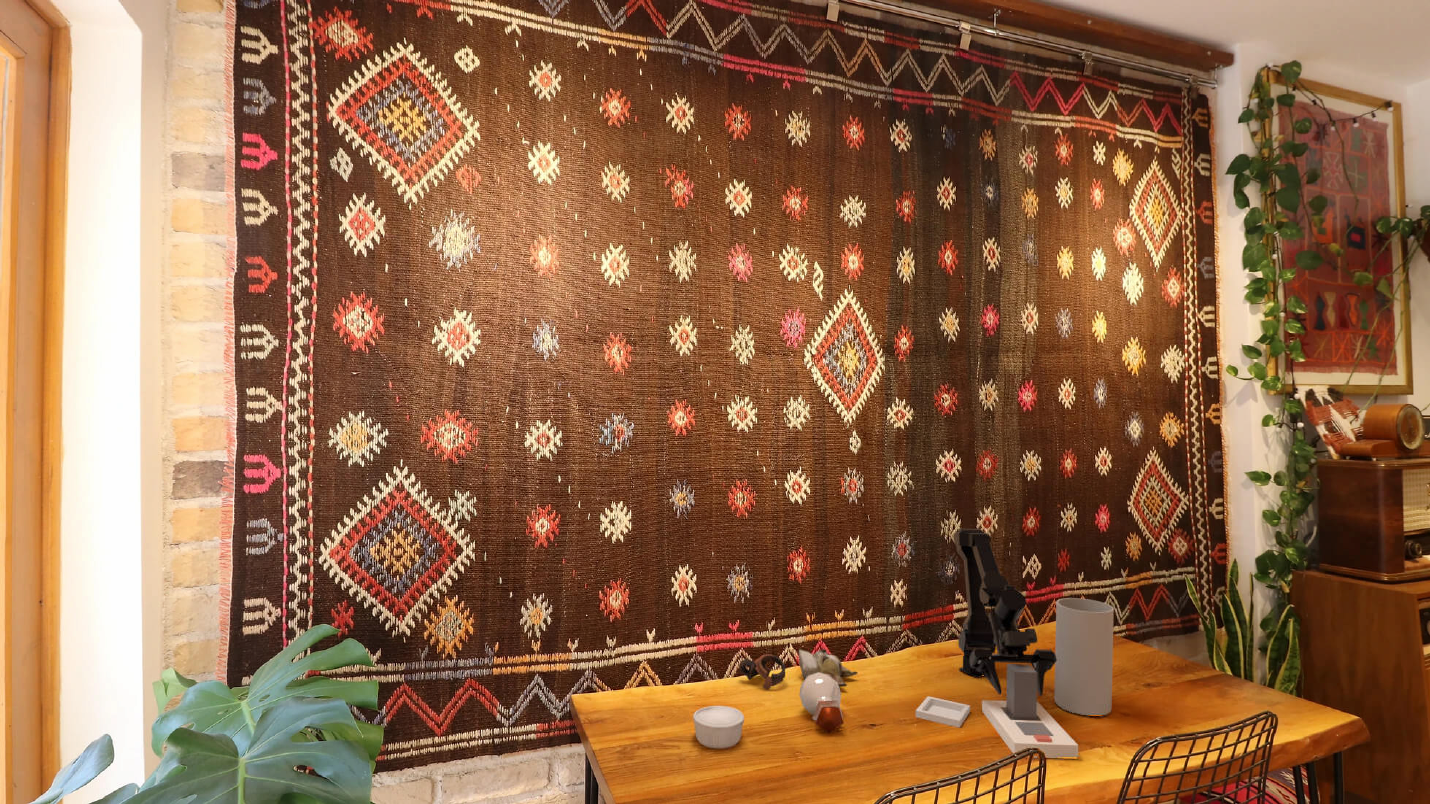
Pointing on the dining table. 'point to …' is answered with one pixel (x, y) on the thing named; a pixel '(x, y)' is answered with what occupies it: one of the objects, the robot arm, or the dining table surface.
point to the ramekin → (718, 726)
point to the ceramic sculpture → (823, 665)
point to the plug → (1021, 692)
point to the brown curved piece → (763, 670)
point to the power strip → (1030, 731)
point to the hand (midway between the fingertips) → (1020, 694)
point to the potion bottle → (822, 700)
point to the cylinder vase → (1084, 656)
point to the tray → (943, 711)
